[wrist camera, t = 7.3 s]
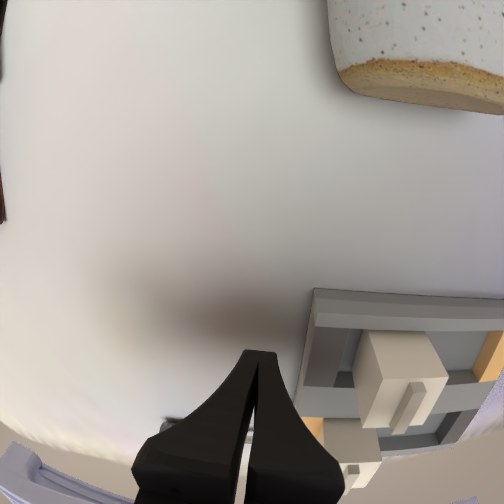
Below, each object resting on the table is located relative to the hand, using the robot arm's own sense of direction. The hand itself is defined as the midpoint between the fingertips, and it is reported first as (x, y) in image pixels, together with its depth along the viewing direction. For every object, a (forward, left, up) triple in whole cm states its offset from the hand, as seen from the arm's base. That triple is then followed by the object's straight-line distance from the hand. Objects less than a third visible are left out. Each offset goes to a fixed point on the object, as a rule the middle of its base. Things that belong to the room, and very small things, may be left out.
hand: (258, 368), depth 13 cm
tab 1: (-5, +6, -2) cm, 8 cm away
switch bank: (-8, +3, -3) cm, 9 cm away
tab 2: (-6, 0, -2) cm, 7 cm away
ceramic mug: (-6, -16, -3) cm, 17 cm away
